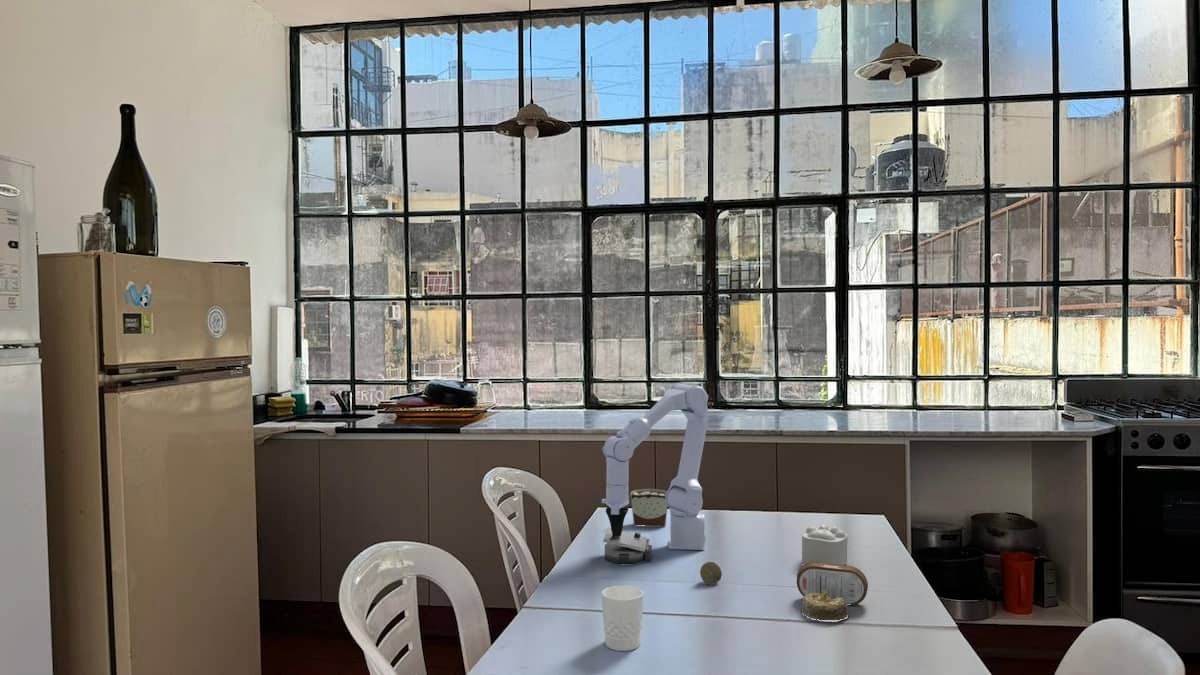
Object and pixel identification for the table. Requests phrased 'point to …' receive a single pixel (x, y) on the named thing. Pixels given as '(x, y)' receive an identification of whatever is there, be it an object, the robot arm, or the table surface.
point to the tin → (833, 581)
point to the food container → (649, 507)
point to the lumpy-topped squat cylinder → (824, 545)
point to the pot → (626, 554)
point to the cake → (824, 607)
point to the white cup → (622, 617)
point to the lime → (710, 573)
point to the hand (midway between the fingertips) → (616, 535)
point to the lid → (627, 540)
